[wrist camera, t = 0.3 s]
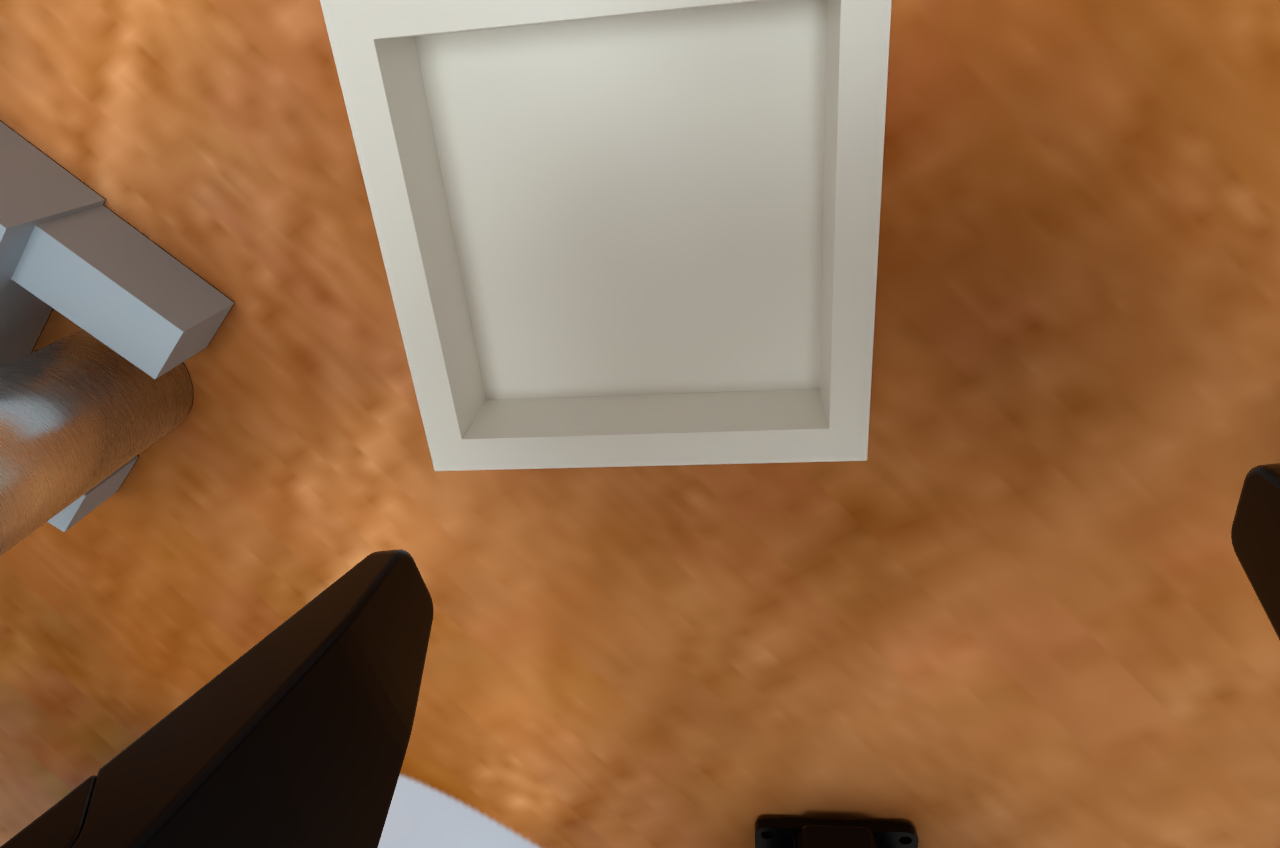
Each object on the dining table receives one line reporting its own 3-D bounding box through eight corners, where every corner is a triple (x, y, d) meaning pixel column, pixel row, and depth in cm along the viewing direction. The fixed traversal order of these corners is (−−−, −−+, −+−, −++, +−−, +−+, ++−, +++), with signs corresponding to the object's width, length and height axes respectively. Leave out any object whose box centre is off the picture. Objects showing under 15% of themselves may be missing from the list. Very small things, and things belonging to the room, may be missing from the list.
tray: (850, 408, 23) (866, 460, 20) (467, 421, 25) (434, 470, 22) (869, -59, 18) (895, -73, 15) (376, -5, 19) (317, -8, 17)
